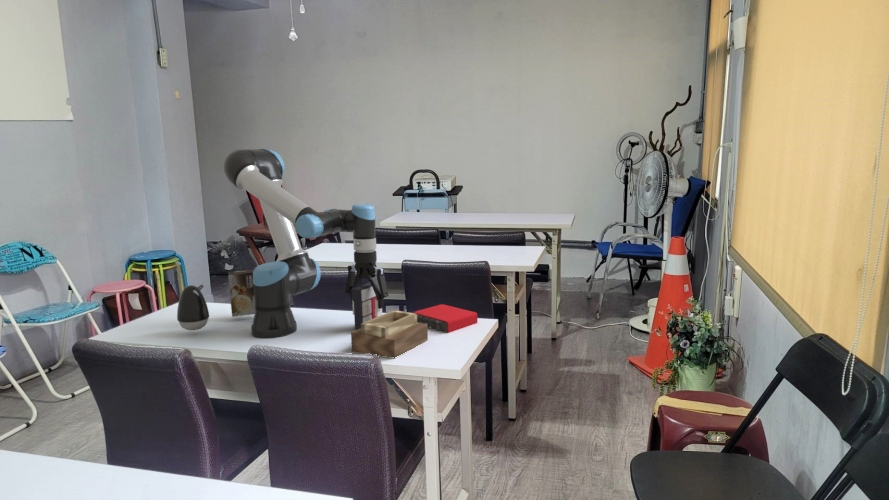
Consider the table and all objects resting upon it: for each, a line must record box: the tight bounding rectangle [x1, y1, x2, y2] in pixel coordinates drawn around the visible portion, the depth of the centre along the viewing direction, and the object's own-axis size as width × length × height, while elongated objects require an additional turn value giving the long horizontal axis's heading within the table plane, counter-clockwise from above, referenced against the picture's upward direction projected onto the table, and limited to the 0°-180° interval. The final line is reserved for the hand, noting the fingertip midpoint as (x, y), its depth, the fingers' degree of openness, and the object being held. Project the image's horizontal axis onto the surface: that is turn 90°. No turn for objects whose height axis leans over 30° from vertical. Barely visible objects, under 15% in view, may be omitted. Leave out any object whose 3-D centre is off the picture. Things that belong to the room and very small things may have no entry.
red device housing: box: [411, 303, 478, 334], centre depth 205 cm, size 18×14×5 cm
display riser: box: [350, 309, 429, 359], centre depth 183 cm, size 16×18×9 cm
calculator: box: [352, 281, 377, 331], centre depth 202 cm, size 11×4×15 cm, turn 153°
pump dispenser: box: [176, 284, 210, 331], centre depth 205 cm, size 10×10×15 cm
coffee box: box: [227, 269, 255, 318], centre depth 222 cm, size 9×6×16 cm
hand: (367, 315), depth 203 cm, fingers open, 9 cm apart
